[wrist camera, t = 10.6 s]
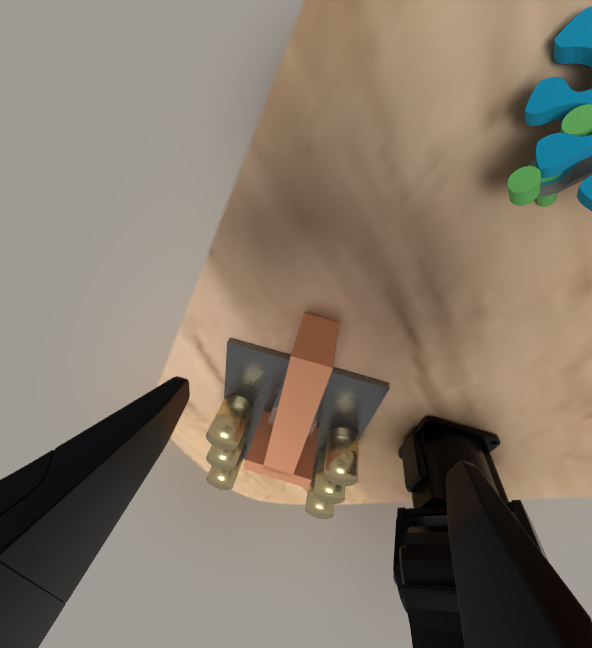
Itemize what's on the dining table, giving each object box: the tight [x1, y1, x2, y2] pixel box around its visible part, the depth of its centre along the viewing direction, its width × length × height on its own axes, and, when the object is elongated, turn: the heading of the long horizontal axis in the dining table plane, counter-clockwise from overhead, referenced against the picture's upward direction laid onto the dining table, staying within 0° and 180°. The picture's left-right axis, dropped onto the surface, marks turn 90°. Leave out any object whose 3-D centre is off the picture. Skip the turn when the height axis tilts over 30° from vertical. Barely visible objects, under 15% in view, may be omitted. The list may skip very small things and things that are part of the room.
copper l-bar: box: [244, 313, 339, 488], centre depth 23 cm, size 6×14×5 cm, turn 169°
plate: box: [206, 338, 389, 519], centre depth 27 cm, size 14×18×5 cm
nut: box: [268, 388, 321, 437], centre depth 25 cm, size 4×5×2 cm
